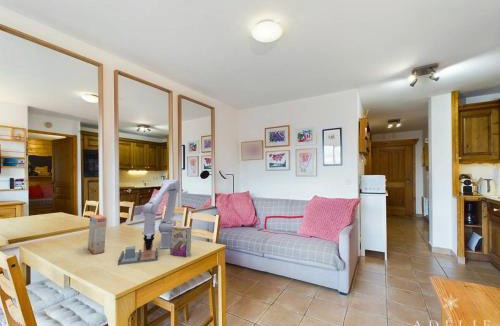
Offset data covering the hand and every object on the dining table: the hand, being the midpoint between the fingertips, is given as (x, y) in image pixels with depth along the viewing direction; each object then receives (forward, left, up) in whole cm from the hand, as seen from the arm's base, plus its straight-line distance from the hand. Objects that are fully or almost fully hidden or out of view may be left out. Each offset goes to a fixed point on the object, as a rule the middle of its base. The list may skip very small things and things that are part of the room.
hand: (148, 248), depth 127 cm
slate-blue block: (+9, 0, -4) cm, 10 cm away
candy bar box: (-18, +2, -5) cm, 18 cm away
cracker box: (+29, -21, -5) cm, 37 cm away
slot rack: (+4, 0, -5) cm, 7 cm away
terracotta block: (0, 0, -2) cm, 2 cm away
